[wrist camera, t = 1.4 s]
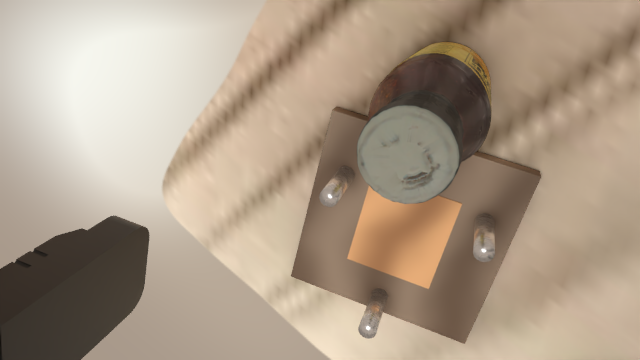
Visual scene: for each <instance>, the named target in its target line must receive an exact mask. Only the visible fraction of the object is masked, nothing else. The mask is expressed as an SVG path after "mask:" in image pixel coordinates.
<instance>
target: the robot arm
mask: <svg viewBox="0 0 640 360" xmlns="http://www.w3.org/2000/svg"><path fill="white" fill-rule="evenodd" d="M148 244H149V232H148V229H147V228H146V227H143V226H141V225H138V224H136V223H133V222H130V221H127V220H125V219H122V218H120V217H117V216H110V217H108V218H107V219H105V220H103V221H102V222H100V223H98V224H97V225H95V226H94V227H92V228H91V229H89V230H85V229H79V230H75V231H72V232H68V233H65V234H61V235H58V236H55V237H53V238H52V239H50V240H48V241H46V242H45V243H43V244H41V245H40V246H38V247H36V248H35V249H34V251H33V252H31V251H30V252H28V253H26V254H25V255H23V256H21V257H20V258H18V259H17V260H16V262H15V263H13V262H11V263H9V264H8V265H6V266H4V267H3V268H1V269H0V360H81V359H82V358H83V357H84V356H85V355H86V354H87V353H88V352H89V351H90V350H92V349H93V348H94V347H95V346H96V345H97V344H98V343H99V342H100V341H101V340H102V339H103V338H104V337H106V336H107V335H108V334H109V333H110V332H111V331H112V330H113V329H114V328H115V327H116V326H117V325H118V324H119V323H120V322H122V321H123V319H125V318H126V317H127V316H128V315H129V314H130V313H131V312H132V311H133V309H134V308H135V306H136V305H137V303H138V302H139V300H140V297H141V295H142V292H143V289H144V284H145V274H146V265H147V254H148Z"/></svg>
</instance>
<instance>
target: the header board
mask: <svg viewBox="0 0 640 360" xmlns="http://www.w3.org/2000/svg"><path fill="white" fill-rule="evenodd" d="M367 122H368V117H367V116H364V115H361V114H358V113H355V112H351V111H348V110H345V109H342V108H339V107H336V108H335V109H333V110H332V114H331V118H330V122H329V126H328V130H327V134H326V138H325V142H324V146H323V150H322V154H321V158H320V162H319V166H318V170H317V174H316V178H315V182H314V186H313V190H312V194H311V198H310V202H309V206H308V210H307V214H306V218H305V222H304V226H303V230H302V234H301V238H300V242H299V246H298V250H297V254H296V258H295V262H294V266H293V270H292V274H291V276H292V277H294V278H297V279H300V280H302V281H305V282H307V283H310V284H312V285H315V286H318V287H320V288H323V289H325V290H328V291H330V292H333V293H335V294H338V295H341V296H343V297H346V298H348V299H351V300H353V301H356V302H359V303H361V304H364V305H366V306H367V304H368V302H369V299H370V296H371V294H372V291H373V290H374V289H377V288H380V289H383V290H385V291H386V293H387V295H388V298H387V301H386V304H385V307H384V310H383V312H384V313H387V314H389V315H392V316H395V317H397V318H400V319H402V320H405V321H407V322H410V323H413V324H415V325H418V326H420V327H423V328H425V329H428V330H431V331H433V332H436V333H438V334H441V335H443V336H446V337H448V338H451V339H454V340H456V341H459V342H461V343H464V344H465V342H466V340H467V337H468V335H469V333H470V331H471V329H472V327H473V324H474V322H475V320H476V318H477V316H478V313H479V311H480V309H481V307H482V305H483V303H484V300H485V298H486V296H487V294H488V292H489V289H490V287H491V285H492V283H493V281H494V279H495V276H496V274H497V272H498V270H499V268H500V265H501V263H502V261H503V259H504V257H505V255H506V252H507V250H508V248H509V246H510V244H511V241H512V239H513V237H514V235H515V233H516V231H517V228H518V226H519V224H520V222H521V220H522V217H523V215H524V213H525V211H526V209H527V207H528V204H529V202H530V200H531V198H532V196H533V194H534V191H535V189H536V187H537V185H538V183H539V180H540V178H541V174H540V171H537V170H534V169H531V168H528V167H525V166H522V165H518V164H515V163H512V162H509V161H506V160H503V159H500V158H496V157H493V156H490V155H487V154H484V153H481V152H475V153H474V154H473V155H472V156H471V157H470V158H468V159H466V160H465V161H463V162H461V164H460V167H459V169H458V172H457V174H456V175H455V177H454V179H453V181H452V183H451V184H450V185H449V187H448V188H447V189H446V190H444V191H443V192H442V193H440V194H439V195H438V196H436V197H434V198H432V199H430V200H428V201H426V202H423V203H418V204H403V203H399V202H393V201H391V200H389V199H386V198H384V197H382V196H381V195H380V194H378V193H377V192H376V191H374V190H373V189H372V188H371V187H370V186H369V185H368V184H367V183H366V181H365V180H364V178H363V177H362V175H361V173H360V170H359V167H358V164H357V143H358V139H359V136H360V134H361V131H362V130H363V128H364V126H365V125H366V123H367ZM343 166H348V167H350V168H352V170H353V171H354V174H355V177H354V179H353V181H352V182H351V184H350V185H349V186H348V188H347V189H346V191H345V192H344V194H343V195H342V197H341V198H340V200H339V201H338V202H337V204H336V205H335V206H333V207H327V206H325V205H323V204H322V203H321V201H320V198H319V195H320V193H321V191H322V190H323V189H324V188H325V186H326V185H327V184H328V183H329V181H330V180H331V179H332V178H333V176H334V175H335V174H336V173H337V171H338V170H339V169H340V168H341V167H343ZM483 213H486V214H489V215H491V216H492V217H493V219H494V231H495V256H494V258H493V259H492V260H491V261H488V262H481V261H479V260H477V259H476V258H475V257H474V255H473V246H474V230H475V219H476V217H477V216H478V215H480V214H483Z"/></svg>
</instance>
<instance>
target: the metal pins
mask: <svg viewBox="0 0 640 360" xmlns="http://www.w3.org/2000/svg"><path fill="white" fill-rule="evenodd" d="M354 177H355V174H354V171H353V170H352V168H350V167H348V166H343V167H341V168H340V169H339V170H338V171H337V173H336V174H335V175H334V176H333V178H332V179H331V180H330V181H329V183H328V184H327V185H326V186H325V188H324V189H323V190H322V191H321V193H320V195H319V198H320V201H321V203H322V204H323V205H325V206H327V207H333V206H335V205H336V204H337V202H338V201H339V200H340V198H341V197H342V195H343V194H344V192H345V191H346V189H347V188H348V186H349V185H350V184H351V182H352V181H353V179H354ZM473 255H474V257H475V258H476V259H477V260H479V261H481V262H488V261H491V260H492V259H493V258H494V256H495V231H494V219H493V217H492V216H491V215H489V214H486V213H483V214H480V215H478V216H477V217H476V219H475V230H474V246H473ZM387 298H388V295H387V293H386V291H385V290H383V289H380V288H377V289H374V290H373V291H372V294H371V296H370V299H369V302H368V304H367V307H366V310H365V312H364V315H363V317H362V320H361V323H360V325H359V329H358V330H359V333H360V334H361V335H362V336H363V337H365V338H373V337H374V336H375V335H376V332H377V329H378V326H379V323H380V320H381V317H382V313H383V310H384V307H385V304H386V301H387Z"/></svg>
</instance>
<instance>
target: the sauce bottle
mask: <svg viewBox="0 0 640 360" xmlns="http://www.w3.org/2000/svg"><path fill="white" fill-rule="evenodd" d="M369 109H370V110H369V117H368V122H367V123H366V125H365V126H364V128H363V130H362V131H361V134H360V136H359V139H358V143H357V164H358V167H359V170H360V173H361V175H362V177H363V178H364V180H365V181H366V183H367V184H368V185H369V186H370V187H371V188H372V189H373V190H374V191H376V192H377V193H378V194H380V195H381V196H382V197H384V198H386V199H389V200H391V201H393V202H399V203H403V204H418V203H423V202H426V201H428V200H430V199H432V198H434V197H436V196H438V195H439V194H440V193H442V192H443V191H444V190H446V189H447V188H448V187H449V185H450V184H451V183H452V181H453V179H454V177H455V175H456V174H457V172H458V169H459V167H460V164H461V162H463V161H465V160H466V159H468V158H470V157H471V156H472V155H473V154H474V153H475V152H477V150H478V149H479V148H480V147H481V145H482V144H483V142H484V140H485V138H486V136H487V134H488V131H489V128H490V122H491V82H490V76H489V72H488V69H487V67H486V65H485V63H484V62H483V60H482V59H481V58H480V56H478V55H477V54H476V53H475V52H474V51H473V50H472V49H470V48H468V47H466V46H464V45H461V44H457V43H452V42H440V43H434V44H431V45H429V46H427V47H425V48H423V49H421V50H420V51H418V52H417V53H415V54H414V55H412V56H411V57H409V58H408V59H406V60H405V61H403V62H402V63H400V64H399V65H398V66H397V67H395V68H394V69H393V70H392V71H391V72H390V73H389V75H387V76H386V77H385V79H384V80H383V81H382V82H381V84H380V85H379V86H378V88H377V90H376V92H375V94H374V96H373V99H372V101H371V104H370V108H369Z"/></svg>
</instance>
